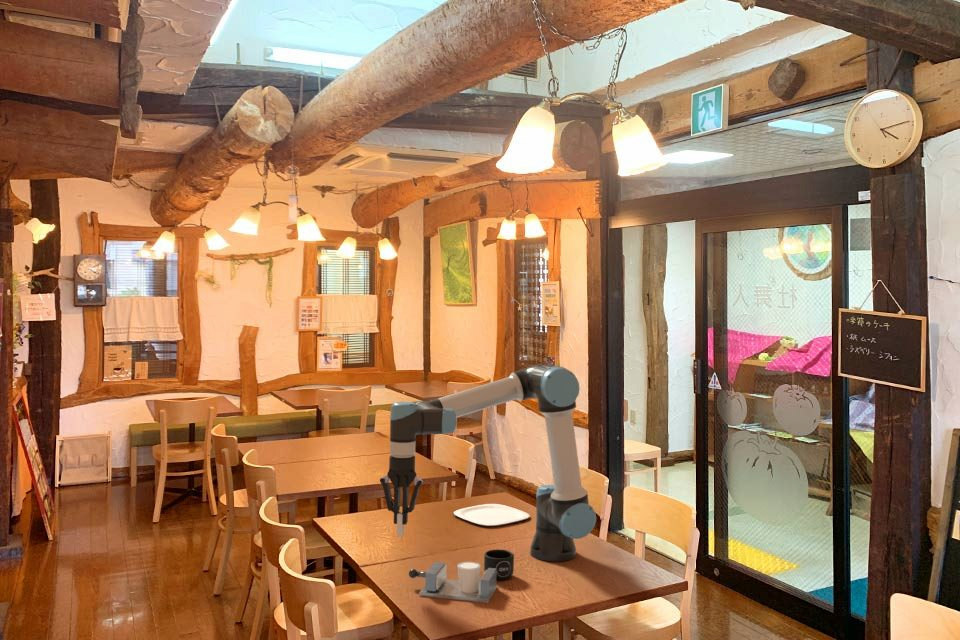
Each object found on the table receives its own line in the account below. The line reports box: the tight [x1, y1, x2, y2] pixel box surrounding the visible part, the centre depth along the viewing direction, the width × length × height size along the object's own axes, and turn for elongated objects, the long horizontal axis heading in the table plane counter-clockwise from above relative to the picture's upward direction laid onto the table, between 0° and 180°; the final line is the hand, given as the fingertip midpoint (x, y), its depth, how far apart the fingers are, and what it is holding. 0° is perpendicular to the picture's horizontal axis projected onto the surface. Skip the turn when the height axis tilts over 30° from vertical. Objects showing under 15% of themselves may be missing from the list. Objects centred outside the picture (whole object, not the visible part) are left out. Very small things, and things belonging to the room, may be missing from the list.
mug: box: [483, 549, 515, 581], centre depth 240 cm, size 12×9×7 cm
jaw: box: [408, 561, 448, 591], centre depth 228 cm, size 10×10×5 cm
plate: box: [452, 503, 531, 527], centre depth 303 cm, size 25×25×2 cm
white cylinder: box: [457, 561, 482, 593], centre depth 225 cm, size 7×7×7 cm
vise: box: [419, 568, 498, 604], centre depth 226 cm, size 20×12×6 cm, turn 77°
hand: (400, 534), depth 229 cm, fingers closed
